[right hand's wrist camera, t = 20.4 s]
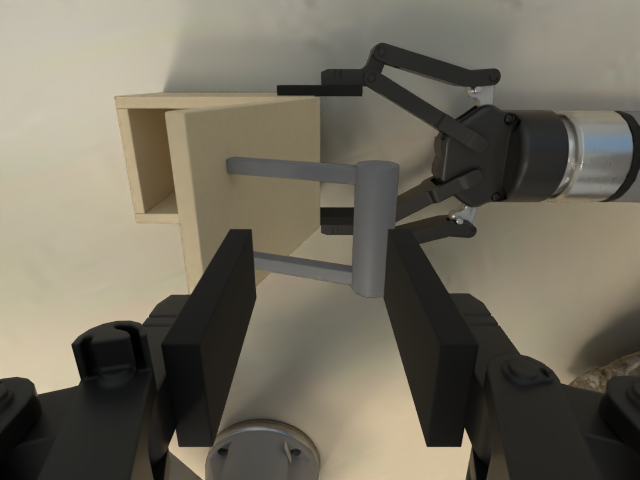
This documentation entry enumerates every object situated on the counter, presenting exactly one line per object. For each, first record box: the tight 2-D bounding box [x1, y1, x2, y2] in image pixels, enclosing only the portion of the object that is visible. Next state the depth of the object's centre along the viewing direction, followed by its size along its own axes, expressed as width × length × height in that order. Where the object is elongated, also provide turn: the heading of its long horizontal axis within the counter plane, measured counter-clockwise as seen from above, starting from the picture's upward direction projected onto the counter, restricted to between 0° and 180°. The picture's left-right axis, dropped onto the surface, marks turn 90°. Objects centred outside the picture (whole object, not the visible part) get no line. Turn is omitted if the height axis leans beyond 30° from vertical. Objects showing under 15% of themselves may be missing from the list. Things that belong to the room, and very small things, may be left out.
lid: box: [165, 97, 399, 298], centre depth 23 cm, size 15×10×9 cm
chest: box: [114, 92, 316, 223], centre depth 36 cm, size 15×10×10 cm
